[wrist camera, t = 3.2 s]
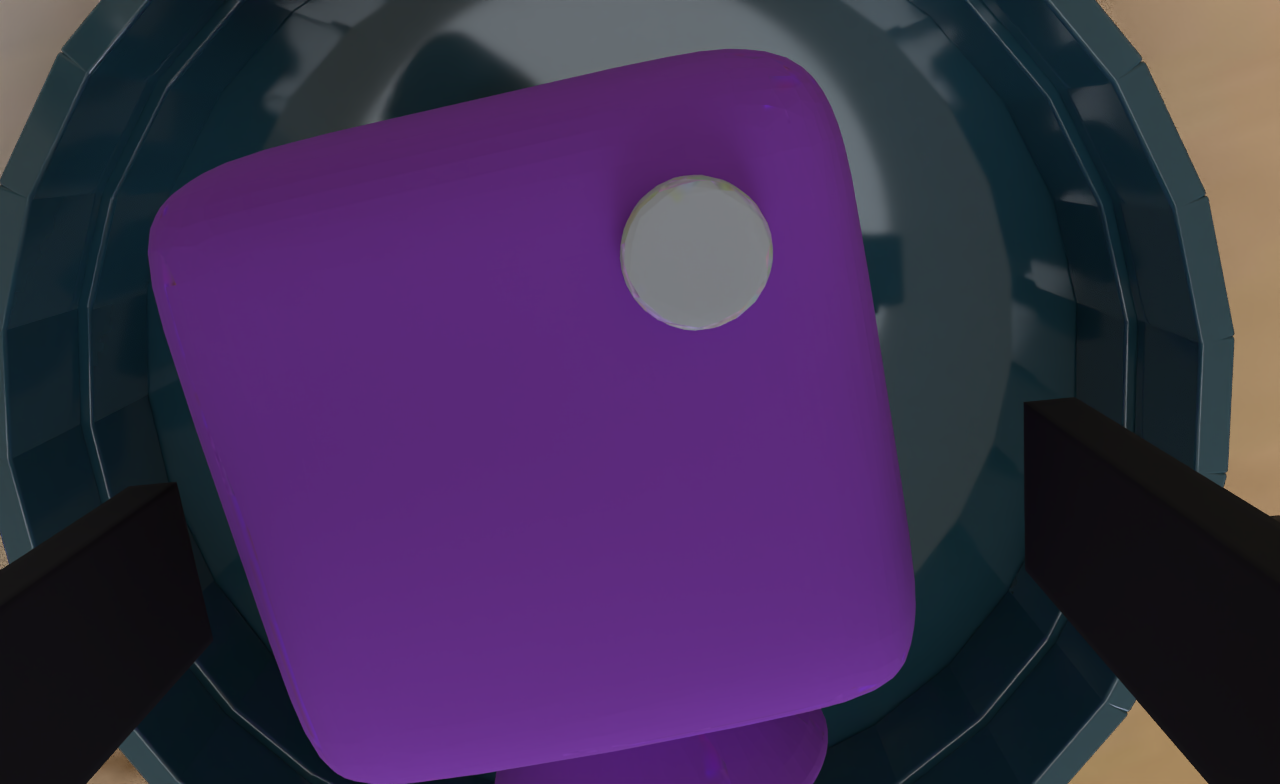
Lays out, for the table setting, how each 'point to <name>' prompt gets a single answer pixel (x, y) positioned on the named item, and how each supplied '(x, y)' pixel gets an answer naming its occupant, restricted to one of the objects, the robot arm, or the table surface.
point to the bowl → (897, 265)
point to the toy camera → (554, 426)
